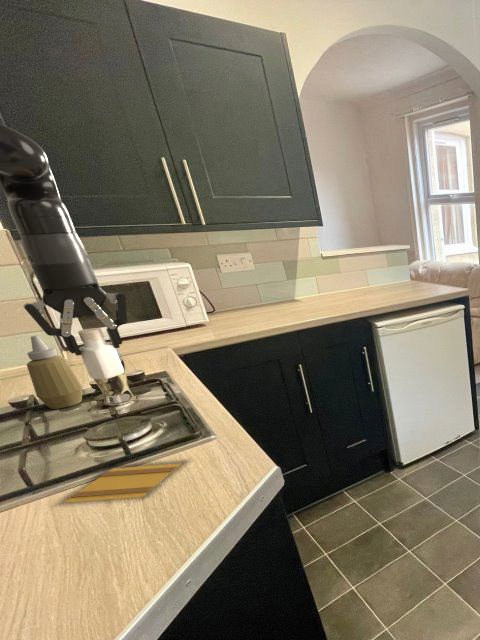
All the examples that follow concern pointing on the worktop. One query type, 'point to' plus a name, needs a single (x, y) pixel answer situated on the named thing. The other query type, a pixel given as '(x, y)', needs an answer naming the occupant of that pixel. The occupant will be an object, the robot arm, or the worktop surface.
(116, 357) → the pepper shaker
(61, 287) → the robot arm
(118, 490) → the towel
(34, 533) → the worktop surface
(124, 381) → the beer glass
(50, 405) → the squeeze bottle
